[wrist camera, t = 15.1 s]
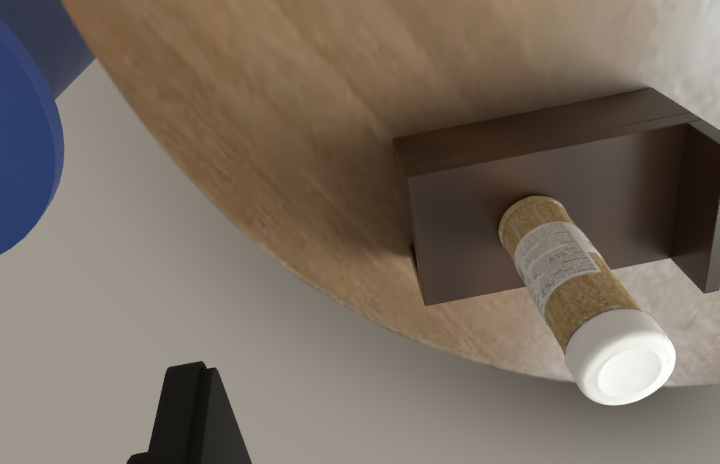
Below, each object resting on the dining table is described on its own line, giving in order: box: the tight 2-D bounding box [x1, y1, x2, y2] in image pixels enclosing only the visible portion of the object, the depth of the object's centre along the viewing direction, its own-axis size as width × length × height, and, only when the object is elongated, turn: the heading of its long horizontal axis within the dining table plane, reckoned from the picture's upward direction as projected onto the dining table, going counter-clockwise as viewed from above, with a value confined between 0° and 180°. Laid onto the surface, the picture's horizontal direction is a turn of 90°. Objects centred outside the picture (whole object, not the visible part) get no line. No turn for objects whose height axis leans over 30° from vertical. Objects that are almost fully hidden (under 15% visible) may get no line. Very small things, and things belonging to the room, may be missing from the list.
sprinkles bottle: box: [498, 196, 675, 405], centre depth 33 cm, size 5×5×13 cm
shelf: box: [392, 88, 720, 306], centre depth 40 cm, size 18×10×10 cm, turn 100°
